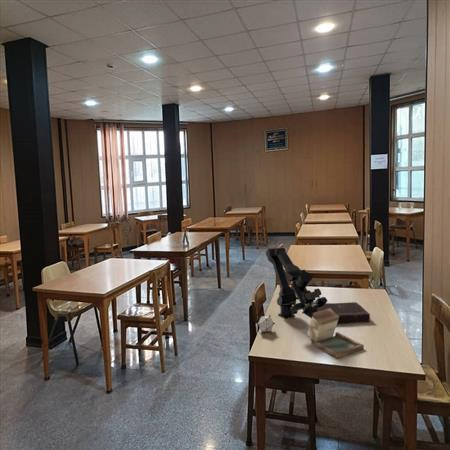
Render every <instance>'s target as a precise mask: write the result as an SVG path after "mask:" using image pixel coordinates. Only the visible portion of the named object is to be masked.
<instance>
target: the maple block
mask: <svg viewBox="0 0 450 450" xmlns="http://www.w3.org/2000/svg"><path fill="white" fill-rule="evenodd" d="M310 319H311V318H310ZM338 319H339V316H338V315H337V314H336V313H335V312H334V311H333V310H332V309H330V308H329V309H325V310H322V311H318V312H314V313H313V315H312V319H311V320H310V323H309V325H308V330H307V333H306V334H307V335H308V337H310V338H311V340H315V341H317V342H318V341H321V340H324V339H327V338H330V337H333V336H334V335H335V331H336V328H337V325H338V324H337V322H338Z"/></svg>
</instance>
